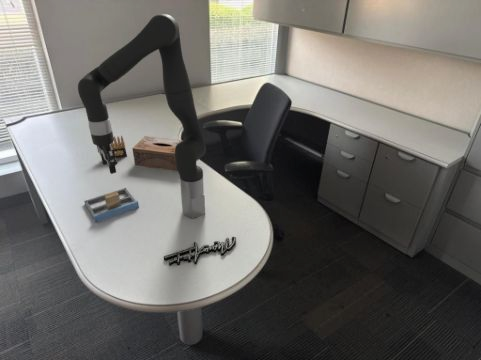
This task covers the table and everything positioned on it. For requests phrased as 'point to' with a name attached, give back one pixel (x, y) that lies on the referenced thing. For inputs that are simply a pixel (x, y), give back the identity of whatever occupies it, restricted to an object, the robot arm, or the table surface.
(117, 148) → the ammunition clip
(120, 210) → the organizer
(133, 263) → the table surface
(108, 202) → the plug block
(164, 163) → the tissue box cover
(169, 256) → the nameplate
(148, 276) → the table surface
